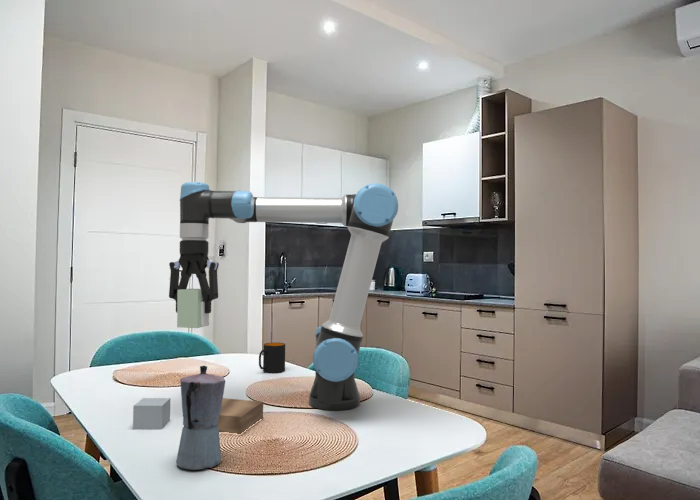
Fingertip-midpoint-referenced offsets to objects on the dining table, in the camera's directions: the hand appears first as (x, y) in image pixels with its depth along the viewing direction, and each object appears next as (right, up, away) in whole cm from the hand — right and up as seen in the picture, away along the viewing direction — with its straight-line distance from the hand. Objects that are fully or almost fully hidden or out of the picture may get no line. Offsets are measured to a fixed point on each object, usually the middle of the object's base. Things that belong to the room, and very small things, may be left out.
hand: (193, 325), depth 139 cm
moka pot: (+11, -24, -33) cm, 42 cm away
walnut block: (+11, -25, -7) cm, 28 cm away
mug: (+12, -26, +56) cm, 63 cm away
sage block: (0, 0, 0) cm, 0 cm away
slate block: (-8, -24, -8) cm, 27 cm away
